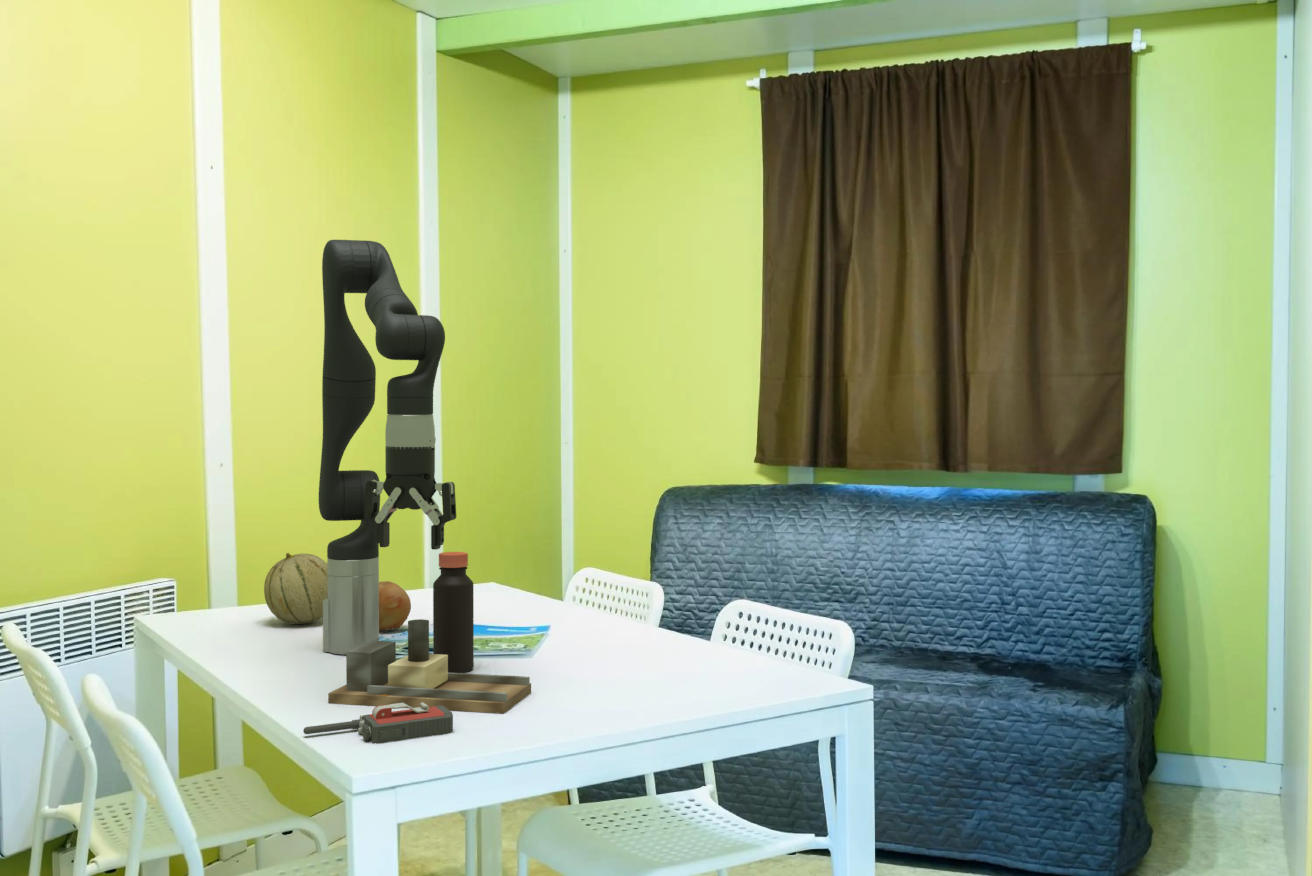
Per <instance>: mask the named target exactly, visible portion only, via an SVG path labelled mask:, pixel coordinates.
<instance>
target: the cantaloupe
mask: <svg viewBox="0 0 1312 876" xmlns="http://www.w3.org/2000/svg"><path fill="white" fill-rule="evenodd" d="M266 574H267V575H266V577H265V579H264V586H263V593H264V599H265V603H266V605H267V607H268V609H269V611H270V612H271V613H272V615H274V616H275V617H276V618H277V619H278V620H279V621H281V622H283V623H287V624H291V625H306V623H308V624H312V623H315V622H317V621H319V620H320V619H323V600H324V599H327V598H328V590H327V562H326V561H325V560H324V559H322V558H321V557H319V556H317V555H315V554H312V553H311V554H310V553H304V552H303V553H296V554H291V553H290V552H287V553H285V558H282V559H281V560H279V561H277V562H276V563H274V565H272V566H271V568H270V569H269V571H268V572H267V573H266Z"/></svg>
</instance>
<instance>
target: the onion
mask: <svg viewBox="0 0 1312 876" xmlns="http://www.w3.org/2000/svg"><path fill="white" fill-rule="evenodd" d="M411 603H412V602H411V599H410V597H409V595H408V593H407V592H406V590H405V589H404V588H403V587H402V586H401V585H399V584H397V583H395V582H392V581H388V580H384V581H379V632H381V631H391V630H398V629H400V628H401V627H402V626H403V625H404V623H405V622H406V621H407V619H408V617H409V615H410V613H411V610H412V604H411Z"/></svg>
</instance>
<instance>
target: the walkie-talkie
mask: <svg viewBox="0 0 1312 876" xmlns="http://www.w3.org/2000/svg"><path fill="white" fill-rule="evenodd" d="M420 705H421V706H422V707H417V708H412V707H410V706H408V705H406V704H405V703H396V704H390V705H379V706H374V708H373V709H372V711H371V714H360V715H359V719H352V720H351V721H343V722H336V723H335V722H334V723H326V724H319V725H311V726H305V727H304V728H303V734H304V735H314V734H320V733H329V732H337V731H345V730H357V733H358V735H362V739H363V741H370V742H371V743H372V744H375V743H376V744H385V743H391V742H398V741H405V740H411V739H420V738H426V737H427V738H429V737H432V736H434V737H435V736H440V735H450V734H452V733H454V717H453V716H454V714H453V712H452V710H448V709H447V708H445V707H444V706H433V707H429V706H428V705H426V704H425V703H420ZM405 708H406V709H405ZM399 709H402V710H399ZM394 710H395V711H394ZM384 742H385V743H384Z"/></svg>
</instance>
